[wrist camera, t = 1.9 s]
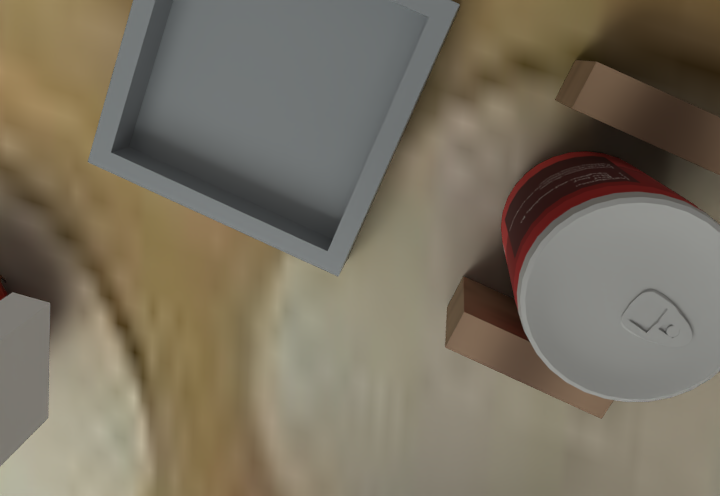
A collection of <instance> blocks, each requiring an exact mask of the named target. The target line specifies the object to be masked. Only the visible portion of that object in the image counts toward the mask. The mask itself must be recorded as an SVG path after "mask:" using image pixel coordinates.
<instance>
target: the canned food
mask: <svg viewBox="0 0 720 496" xmlns="http://www.w3.org/2000/svg"><path fill="white" fill-rule="evenodd" d="M501 232H502V242H503V247H504V251H505V256H506V261H507V265H508V270H509V275H510V280H511V284H512V289H513V294H514V298H515V303H516V306H517V309H518V313H519V316H520V320H521V323H522V326H523V329H524V332H525V334H526V335H527V337H528V339H529V341H530V343H531V344H532V346H533V348H534V350H535V352H536V353H537V355H538V356H539V357H540V358H541V359H542V361H543V362H544V363H545V364H546V365H547V366H548V368H549V369H550V370H551V371H553V372H554V373H555V374H556V375H558V376H559V377H560V378H561V379H563V380H564V381H565V382H567V383H569V384H571V385H572V386H574V387H576V388H578V389H580V390H582V391H584V392H586V393H589V394H592V395H595V396H598V397H601V398H604V399H610V400H617V401H624V402H649V401H655V400H660V399H666V398H671V397H673V396H676V395H679V394H682V393H684V392H687V391H690V390H692V389H694V388H696V387H697V386H699V385H701V384H703V383H704V382H706V381H708V380H710V379H711V378H712V377H713V376H714V375H715V374H717V373H718V372H719V371H720V224H718V223H717V222H716V221H715V220H714V219H712V218H711V217H710V216H709V215H708V214H706V213H705V212H704V211H702V210H701V209H699V208H698V207H697V206H695V205H694V204H693V203H691V202H690V201H688V200H686V199H685V198H683V197H682V196H680V195H678V194H677V193H675V192H674V191H672V190H671V189H669V188H667V187H666V186H664V185H663V184H661V183H660V182H658V181H656V180H655V179H653V178H652V177H650V176H649V175H647V174H645V173H644V172H642V171H641V170H639V169H637V168H636V167H634V166H633V165H631V164H629V163H627V162H625V161H623V160H621V159H620V158H617V157H614V156H611V155H607V154H604V153H597V152H588V151H583V152H570V153H566V154H562V155H558V156H555V157H552V158H550V159H548V160H546V161H544V162H542V163H540V164H538V165H537V166H535V167H534V168H533V169H531V170H530V171H529V172H527V173H526V174H525V175H524V176H523V177H522V178H521V179H520V181H519V182H518V183H517V184H516V185H515V187H514V188H513V190H512V192H511V193H510V195H509V197H508V198H507V201H506V204H505V207H504V210H503V215H502V223H501Z"/></svg>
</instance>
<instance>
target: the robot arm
mask: <svg viewBox="0 0 720 496" xmlns="http://www.w3.org/2000/svg"><path fill="white" fill-rule="evenodd" d="M49 345H50V303H49V302H46V301H42V300H38V299H35V298H31V297H28V296H24V295H20V294H17V293H13V292H12V293H11V294H9V295H8V296H6V297H5V298H3V299H2V300H0V466H1V465H2V464H3V463H4V462H5V461H6V460H7V459H8V458H9V457H10V456H11V455H12V454H13V453H14V452H15V451H16V450H17V449H18V448H19V447H20V446H21V445H22V444H23V443H24V442H25V441H26V440H27V439H28V438H29V437H30V436H31V435H32V434H33V433H34V432H35V431H36V430H37V429H38V428H39V427H40V426H41V425H42V424H43V423H44V422H45V421H46V420H47V419H48V401H49Z"/></svg>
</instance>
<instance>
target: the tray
mask: <svg viewBox="0 0 720 496" xmlns="http://www.w3.org/2000/svg"><path fill="white" fill-rule="evenodd" d="M459 8H460V4H458V3H456V2H453V1H451V0H133V3H132V7H131V11H130V14H129V18H128V21H127V25H126V28H125V32H124V35H123V39H122V42H121V46H120V50H119V53H118V57H117V60H116V64H115V67H114V71H113V74H112V78H111V81H110V85H109V89H108V92H107V96H106V99H105V103H104V106H103V110H102V113H101V117H100V121H99V124H98V128H97V131H96V135H95V138H94V142H93V145H92V149H91V152H90V156H89V160H88V162H89V163H91V164H93V165H95V166H97V167H100V168H102V169H104V170H106V171H108V172H111V173H113V174H115V175H117V176H119V177H122V178H124V179H126V180H128V181H130V182H132V183H135V184H137V185H139V186H141V187H143V188H146V189H148V190H150V191H152V192H154V193H157V194H159V195H161V196H163V197H165V198H167V199H170V200H172V201H174V202H176V203H178V204H181V205H183V206H185V207H187V208H189V209H192V210H194V211H196V212H198V213H200V214H202V215H205V216H207V217H209V218H211V219H213V220H216V221H218V222H220V223H222V224H224V225H227V226H229V227H231V228H233V229H235V230H237V231H240V232H242V233H244V234H246V235H248V236H251V237H253V238H255V239H257V240H259V241H262V242H264V243H266V244H268V245H270V246H272V247H275V248H277V249H279V250H281V251H283V252H286V253H288V254H290V255H292V256H294V257H296V258H299V259H301V260H303V261H305V262H307V263H310V264H312V265H314V266H316V267H318V268H321V269H323V270H325V271H327V272H329V273H331V274H334V275H336V276H339V274H340V272H341V270H342V268H343V267H344V265H345V263H346V261H347V259H348V256H349V254H350V252H351V250H352V247H353V245H354V243H355V241H356V238H357V236H358V234H359V232H360V229H361V227H362V225H363V223H364V221H365V218H366V216H367V214H368V212H369V209H370V207H371V205H372V203H373V200H374V198H375V196H376V194H377V191H378V189H379V187H380V185H381V182H382V180H383V178H384V176H385V174H386V171H387V169H388V167H389V165H390V162H391V160H392V158H393V156H394V153H395V151H396V149H397V147H398V144H399V142H400V140H401V138H402V135H403V133H404V131H405V129H406V127H407V124H408V122H409V120H410V118H411V115H412V113H413V111H414V109H415V106H416V104H417V102H418V100H419V97H420V95H421V93H422V91H423V89H424V86H425V84H426V82H427V80H428V77H429V75H430V73H431V71H432V68H433V66H434V64H435V62H436V59H437V57H438V55H439V53H440V50H441V48H442V46H443V44H444V42H445V39H446V37H447V35H448V33H449V30H450V28H451V26H452V24H453V21H454V19H455V17H456V15H457V12H458V10H459Z"/></svg>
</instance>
